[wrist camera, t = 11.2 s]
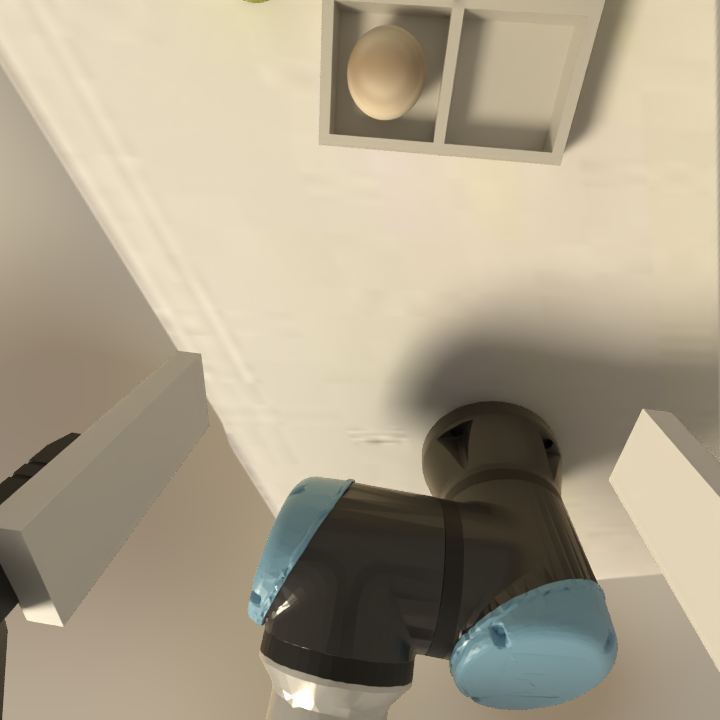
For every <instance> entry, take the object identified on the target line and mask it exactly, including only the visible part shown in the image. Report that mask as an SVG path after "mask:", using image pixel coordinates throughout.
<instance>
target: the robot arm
mask: <svg viewBox="0 0 720 720" xmlns="http://www.w3.org/2000/svg"><path fill="white" fill-rule="evenodd" d="M209 426H210V425H209V417H208V408H207V399H206V391H205V382H204V374H203V366H202V357H201V354H198V353H190V352H182V351H177V352H175V353H174V354H173V355H172V356H171V357H170V358H169V359H167V360H166V361H165V362H164V363H163V364H162V365H160V366H159V367H158V368H157V369H156V370H155V371H154V372H153V373H151V374H150V375H149V376H148V377H147V378H146V379H144V380H143V381H142V382H141V383H140V384H139V385H138V386H136V387H135V388H134V389H133V390H132V391H131V392H130V393H128V394H127V395H126V396H125V397H124V398H123V399H122V400H120V401H119V402H118V403H117V404H116V405H115V406H113V407H112V408H111V409H110V410H109V411H108V412H107V413H106V414H104V415H103V416H102V417H101V418H100V419H98V420H97V421H96V422H95V423H94V424H93V425H92V426H90V427H89V428H88V429H87V430H86V431H85V432H84V433H83V434H77V433H70V434H68V435H66V436H64V437H63V438H61V439H58V440H57V441H55V442H53V443H51V444H49V445H47V446H46V447H45V448H43V449H42V450H41V451H40V452H39V453H37V454H36V455H35V456H34V457H32V459H30V460H29V463H28V464H24V465H23V466H21V467H20V468H19V469H18V470H17V471H15V472H14V473H13V476H12V477H8V478H7V479H6V480H5V481H3V482H2V483H1V484H0V720H2V712H3V696H4V680H5V679H4V678H5V665H6V664H5V663H6V649H7V633H8V630H7V626H6V622H5V620H4V619H5V617H6V616H7V615H8V614H9V613H10V612H11V610H12V609H13V608H14V607H15V606H16V605H17V604H18V603H19V605H20V607H21V609H22V610H23V612H24V614H25V616H26V618H27V620H28V621H34V622H40V623H45V624H51V625H57V626H62V627H63V626H64V625H65V624H66V623H67V621H68V620H69V619H70V617H71V616H72V615H73V613H74V612H75V610H76V609H77V608H78V606H79V605H80V604H81V602H82V601H83V599H84V598H85V596H86V595H87V594H88V592H89V591H90V590H91V588H92V587H93V586H94V584H95V583H96V582H97V580H98V579H99V577H100V576H101V575H102V573H103V572H104V571H105V569H106V568H107V566H108V565H109V564H110V562H111V561H112V560H113V558H114V557H115V555H116V554H117V553H118V551H119V550H120V549H121V547H122V546H123V544H124V543H125V542H126V540H127V539H128V538H129V536H130V535H131V533H132V532H133V531H134V529H135V528H136V527H137V525H138V524H139V522H140V521H141V520H142V518H143V517H144V515H145V514H146V513H147V511H148V510H149V508H150V507H151V506H152V505H153V503H154V502H155V500H156V499H157V498H158V496H159V495H160V494H161V492H162V491H163V489H164V488H165V487H166V485H167V484H168V483H169V481H170V480H171V478H172V477H173V476H174V474H175V472H177V470H178V469H179V467H180V466H181V465H182V463H183V462H184V461H185V459H186V458H187V456H188V455H189V454H190V452H191V451H192V449H193V448H194V447H195V445H196V444H197V443H198V441H199V440H200V438H201V437H202V436H203V434H204V433H205V432H206V430H207V429H208V427H209ZM422 467H423V474H424V478H425V481H426V484H427V486H428V488H429V490H430V492H431V494H432V496H433V497H432V496H426V495H421V494H415V493H409V492H404V491H398V490H392V489H387V488H381V487H375V486H370V485H365V484H360V483H355V480H353V479H348V480H347V481H346V480H338V479H330V478H322V477H310V478H307V479H304V480H303V481H301V482H300V483H299V484H297V485H296V486H295V488H294V489H293V490H292V491H291V493H290V494H289V496H288V497H287V499H286V501H285V503H284V504H283V506H282V508H281V510H280V512H279V514H278V516H277V519H276V521H275V523H274V526H273V528H272V530H271V532H270V535H269V537H268V540H267V542H266V545H265V548H264V551H263V553H262V556H261V559H260V562H259V565H258V568H257V571H256V574H255V578H254V581H253V587H252V588H253V590H252V593H251V596H250V599H249V604H248V614H249V617H250V619H252V620H254V621H255V622H256V624H257V625H264V624H265V631H264V635H263V640H262V643H261V648H260V653H259V655H260V658H261V660H262V662H263V664H264V666H265V668H266V670H267V671H268V673H269V675H270V677H271V680H272V685H273V688H272V692H271V697H270V702H269V707H268V711H267V716H266V720H387V714H388V710H389V708H390V706H391V705H392V704H393V703H394V702H395V701H396V700H397V699H399V697H401V696H402V695H403V694H404V693H405V692H406V691H408V690H409V689H410V688H411V686H412V679H413V668H414V659H415V655H416V654H420V655H426V656H431V657H437V658H441V659H446V660H449V666H450V673H451V674H452V676H453V678H454V681H455V684H456V686H457V688H458V689H459V690H460V692H461V693H463V694H464V695H465V696H467V697H471V699H472V700H474V701H475V702H476V703H478V704H481V705H484V706H487V707H492V708H497V709H507V710H528V709H535V708H536V709H537V708H543V707H548V706H553V705H557V704H560V703H563V702H566V701H569V700H572V699H574V698H577V697H579V696H581V695H583V694H585V693H587V692H588V691H590V690H591V689H593V688H594V687H596V686H597V685H598V684H599V683H600V682H602V681H603V679H604V678H605V677H606V676H607V675H608V674H609V672H610V671H611V669H612V667H613V665H614V663H615V660H616V656H617V650H618V646H617V637H616V633H615V630H614V628H613V624H612V621H611V618H610V615H609V612H608V609H607V605H606V602H605V595H604V592H603V590H602V589H601V587H600V585H598V583H597V581H596V578H595V576H594V574H593V571H592V569H591V567H590V564H589V562H588V560H587V557H586V555H585V553H584V550H583V548H582V546H581V543H580V541H579V538H578V536H577V534H576V531H575V529H574V527H573V524H572V522H571V520H570V517H569V515H568V512H567V510H566V508H565V506H564V503H563V501H562V498H561V480H562V458H561V452H560V449H559V446H558V444H557V442H556V440H555V438H554V435H553V433H552V432H551V430H550V428H549V427H548V426H547V424H546V423H545V422H544V421H543V420H542V419H541V418H540V417H538V416H537V415H536V414H534V413H533V412H531V411H529V410H527V409H525V408H523V407H520V406H517V405H513V404H509V403H503V402H481V403H475V404H470V405H467V406H464V407H461V408H459V409H456V410H454V411H452V412H450V413H449V414H447V415H446V416H444V417H443V418H442V419H440V420H439V421H438V422H437V423H436V424H435V425H434V426H433V427H432V429H431V430H430V432H429V433H428V435H427V437H426V439H425V441H424V445H423V450H422ZM609 482H610V483H611V485H612V487H613V489H614V490H615V492H616V494H617V495H618V497H619V499H620V501H621V502H622V504H623V506H624V508H625V509H626V511H627V513H628V515H629V516H630V518H631V520H632V521H633V523H634V525H635V527H636V528H637V530H638V532H639V534H640V535H641V537H642V539H643V540H644V542H645V544H646V546H647V547H648V549H649V551H650V553H651V554H652V556H653V558H654V560H655V561H656V563H657V565H658V566H659V568H660V570H661V572H662V573H663V575H664V577H665V579H666V580H667V582H668V584H669V585H670V587H671V589H672V591H673V592H674V594H675V596H676V597H677V599H678V601H679V603H680V605H681V606H682V608H683V610H684V611H685V613H686V615H687V617H688V618H689V620H690V622H691V624H692V625H693V627H694V629H695V630H696V632H697V634H698V636H699V637H700V639H701V641H702V643H703V644H704V646H705V648H706V650H707V651H708V653H709V655H710V656H711V658H712V660H713V662H714V663H715V665H716V667H717V668H718V670H719V672H720V463H719V462H718V461H717V460H716V459H715V458H714V457H713V456H712V455H711V454H710V452H709V451H708V450H707V449H706V448H705V447H704V446H703V445H702V444H701V443H700V442H699V441H698V440H697V439H696V438H695V437H694V436H693V435H692V434H691V433H690V432H689V431H688V429H687V428H686V427H685V426H684V425H683V424H682V423H681V422H680V421H679V420H678V419H677V418H676V417H675V416H674V415H673V414H672V413H671V412H668V411H660V410H652V409H644V408H643V409H642V411H641V413H640V415H639V417H638V419H637V422H636V424H635V426H634V428H633V430H632V432H631V434H630V436H629V438H628V440H627V442H626V445H625V447H624V449H623V451H622V453H621V455H620V457H619V459H618V461H617V463H616V465H615V468H614V470H613V472H612V474H611V476H610V478H609Z"/></svg>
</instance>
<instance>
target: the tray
mask: <svg viewBox="0 0 720 720" xmlns="http://www.w3.org/2000/svg"><path fill="white" fill-rule="evenodd" d="M604 4H605V0H322V35H321V76H320V116H319V145H327V146H339V147H351V148H362V149H374V150H385V151H397V152H409V153H420V154H432V155H443V156H455V157H466V158H478V159H490V160H501V161H513V162H524V163H536V164H548V165H559V166H560V164H561V161H562V157H563V153H564V150H565V146H566V142H567V139H568V135H569V131H570V128H571V124H572V120H573V117H574V113H575V110H576V106H577V102H578V99H579V95H580V91H581V88H582V84H583V80H584V77H585V73H586V69H587V66H588V62H589V58H590V55H591V51H592V47H593V44H594V40H595V36H596V33H597V29H598V25H599V22H600V18H601V15H602V11H603V7H604ZM382 25H394V26H398V27H401V28H403V29H405V30H406V31H408V32H409V33H410V34H411V35H412V36H413V37H414V38H415V39H416V40H417V42H418V43H419V45H420V47H421V49H422V52H423V55H424V58H425V64H426V78H425V84H424V87H423V90H422V93H421V95H420V97H419V99H418V101H417V102H416V103H415V105H414V106H413V107H412V108H411V109H410V110H409V111H408V112H407V113H405V114H404V115H402V116H400V117H398V118H395V119H392V120H378V119H375V118H372V117H370V116H368V115H367V114H365V113H364V112H363V111H362V110H361V109H360V108H359V107H358V106H357V104H356V103H355V101H354V100H353V98H352V96H351V93H350V90H349V86H348V79H347V69H348V63H349V58H350V55H351V53H352V51H353V48H354V47H355V45H356V43H357V42H358V41H359V39H360V38H361V37H362V36H363V35H364V34H365V33H367V32H368V31H369V30H371V29H373V28H375V27H378V26H382Z"/></svg>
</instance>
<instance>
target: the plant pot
mask: <svg viewBox="0 0 720 720" xmlns="http://www.w3.org/2000/svg"><path fill="white" fill-rule="evenodd" d="M244 1H248V2H252V3H261V2H265V1H268V0H244Z"/></svg>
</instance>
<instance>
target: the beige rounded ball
mask: <svg viewBox="0 0 720 720" xmlns="http://www.w3.org/2000/svg"><path fill="white" fill-rule="evenodd" d="M425 78H426V64H425V58H424V55H423V52H422V49H421V47H420V45H419V43H418V42H417V40H416V39H415V38H414V37H413V36H412V35H411V34H410V33H409V32H408V31H406V30H405V29H403V28H401V27H398V26H394V25H382V26H378V27H375V28H373V29H371V30H369V31H368V32H367V33H365V34H364V35H363V36H362V37H361V38H360V39H359V41H358V42H357V43H356V45H355V47H354V48H353V51H352V53H351V55H350V58H349V63H348V69H347V79H348V86H349V90H350V93H351V96H352V98H353V100H354V101H355V103H356V104H357V106H358V107H359V108H360V109H361V110H362V111H363V112H364V113H365V114H367V115H368V116H370V117H372V118H375V119H378V120H392V119H395V118H398V117H400V116H402V115H404V114H405V113H407V112H408V111H409V110H410V109H411V108H412V107H413V106H414V105H415V103H416V102H417V101H418V99H419V97H420V95H421V93H422V90H423V87H424V84H425Z"/></svg>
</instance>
